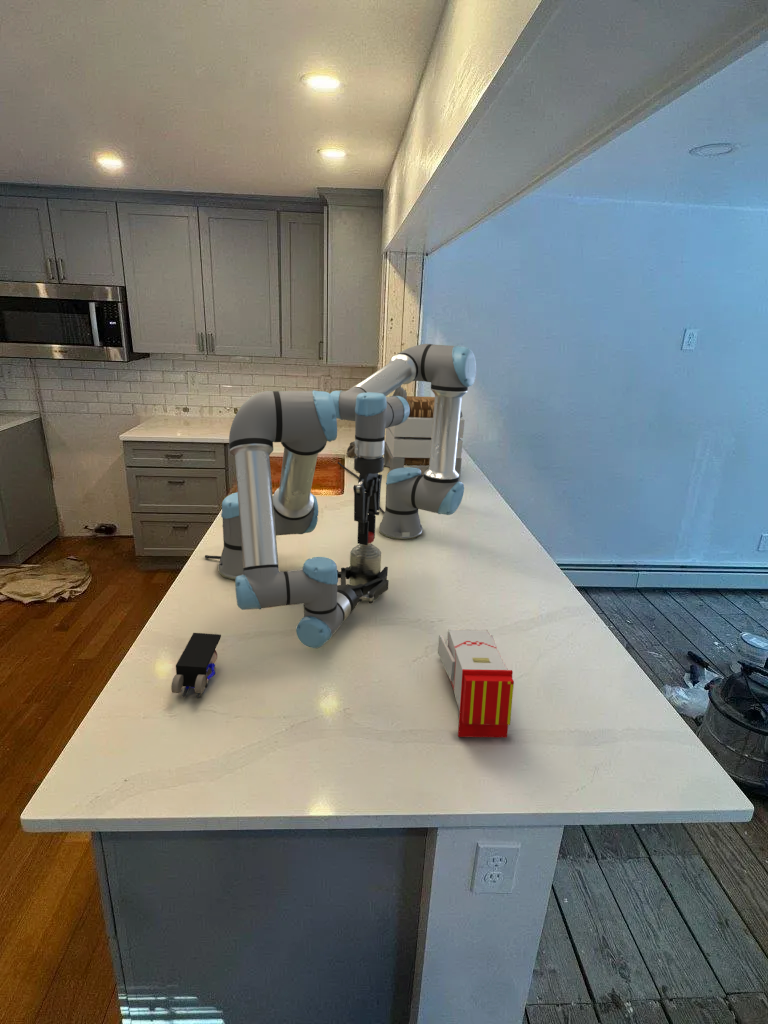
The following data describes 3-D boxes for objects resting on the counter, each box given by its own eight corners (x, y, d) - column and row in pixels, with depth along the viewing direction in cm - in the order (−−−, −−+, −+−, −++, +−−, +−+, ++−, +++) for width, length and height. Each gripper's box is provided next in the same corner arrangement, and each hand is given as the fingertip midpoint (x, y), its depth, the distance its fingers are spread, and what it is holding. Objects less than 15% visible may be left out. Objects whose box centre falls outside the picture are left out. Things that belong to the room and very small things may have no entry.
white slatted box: (382, 463, 289) (386, 382, 275) (445, 464, 293) (451, 384, 279) (390, 482, 257) (394, 392, 243) (460, 483, 261) (468, 394, 247)
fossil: (346, 440, 316) (367, 425, 311) (357, 453, 319) (378, 438, 314) (340, 453, 296) (362, 438, 291) (351, 468, 299) (374, 452, 294)
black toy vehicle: (206, 709, 112) (224, 658, 125) (202, 680, 108) (221, 630, 122) (172, 708, 112) (194, 657, 125) (167, 679, 108) (190, 629, 122)
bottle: (352, 603, 152) (353, 542, 146) (347, 588, 159) (348, 530, 153) (382, 601, 154) (385, 540, 148) (375, 587, 161) (378, 529, 155)
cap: (376, 542, 150) (376, 535, 149) (361, 544, 148) (362, 537, 148) (370, 536, 154) (370, 530, 153) (356, 538, 152) (356, 532, 151)
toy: (488, 613, 130) (523, 677, 101) (484, 667, 133) (517, 744, 104) (435, 612, 130) (455, 676, 101) (432, 666, 133) (451, 743, 103)
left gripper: (299, 609, 143) (336, 573, 163) (377, 627, 136) (406, 587, 157) (299, 582, 140) (336, 549, 161) (379, 599, 134) (407, 562, 154)
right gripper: (368, 446, 152) (366, 528, 160) (341, 460, 137) (339, 549, 145) (395, 450, 149) (390, 532, 157) (369, 465, 134) (366, 555, 142)
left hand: (371, 568), depth 159 cm, fingers closed on bottle, 8 cm apart
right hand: (366, 540), depth 151 cm, fingers closed on cap, 4 cm apart
